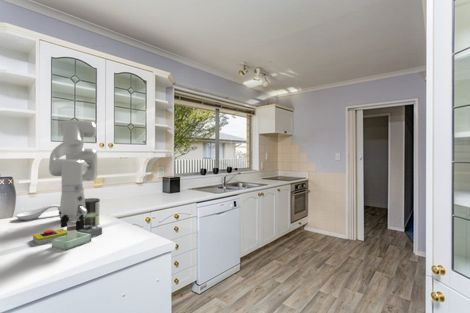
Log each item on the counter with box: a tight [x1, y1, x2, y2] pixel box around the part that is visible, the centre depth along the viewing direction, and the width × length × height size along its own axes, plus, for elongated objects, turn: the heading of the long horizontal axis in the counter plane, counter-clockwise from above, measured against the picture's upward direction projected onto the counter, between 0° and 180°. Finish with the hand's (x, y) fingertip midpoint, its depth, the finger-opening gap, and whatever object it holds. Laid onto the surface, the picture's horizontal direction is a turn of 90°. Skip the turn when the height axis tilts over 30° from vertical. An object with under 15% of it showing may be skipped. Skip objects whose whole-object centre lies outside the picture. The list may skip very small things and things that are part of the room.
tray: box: [51, 232, 92, 251], centre depth 104 cm, size 11×9×3 cm
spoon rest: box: [15, 204, 60, 221], centre depth 147 cm, size 24×12×7 cm, turn 129°
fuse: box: [66, 220, 77, 242], centre depth 104 cm, size 4×4×9 cm
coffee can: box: [79, 197, 101, 227], centre depth 131 cm, size 10×10×14 cm
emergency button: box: [28, 228, 67, 247], centre depth 110 cm, size 9×4×15 cm
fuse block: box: [77, 225, 103, 238], centre depth 116 cm, size 7×10×4 cm
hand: (72, 228), depth 104 cm, fingers open, 9 cm apart
